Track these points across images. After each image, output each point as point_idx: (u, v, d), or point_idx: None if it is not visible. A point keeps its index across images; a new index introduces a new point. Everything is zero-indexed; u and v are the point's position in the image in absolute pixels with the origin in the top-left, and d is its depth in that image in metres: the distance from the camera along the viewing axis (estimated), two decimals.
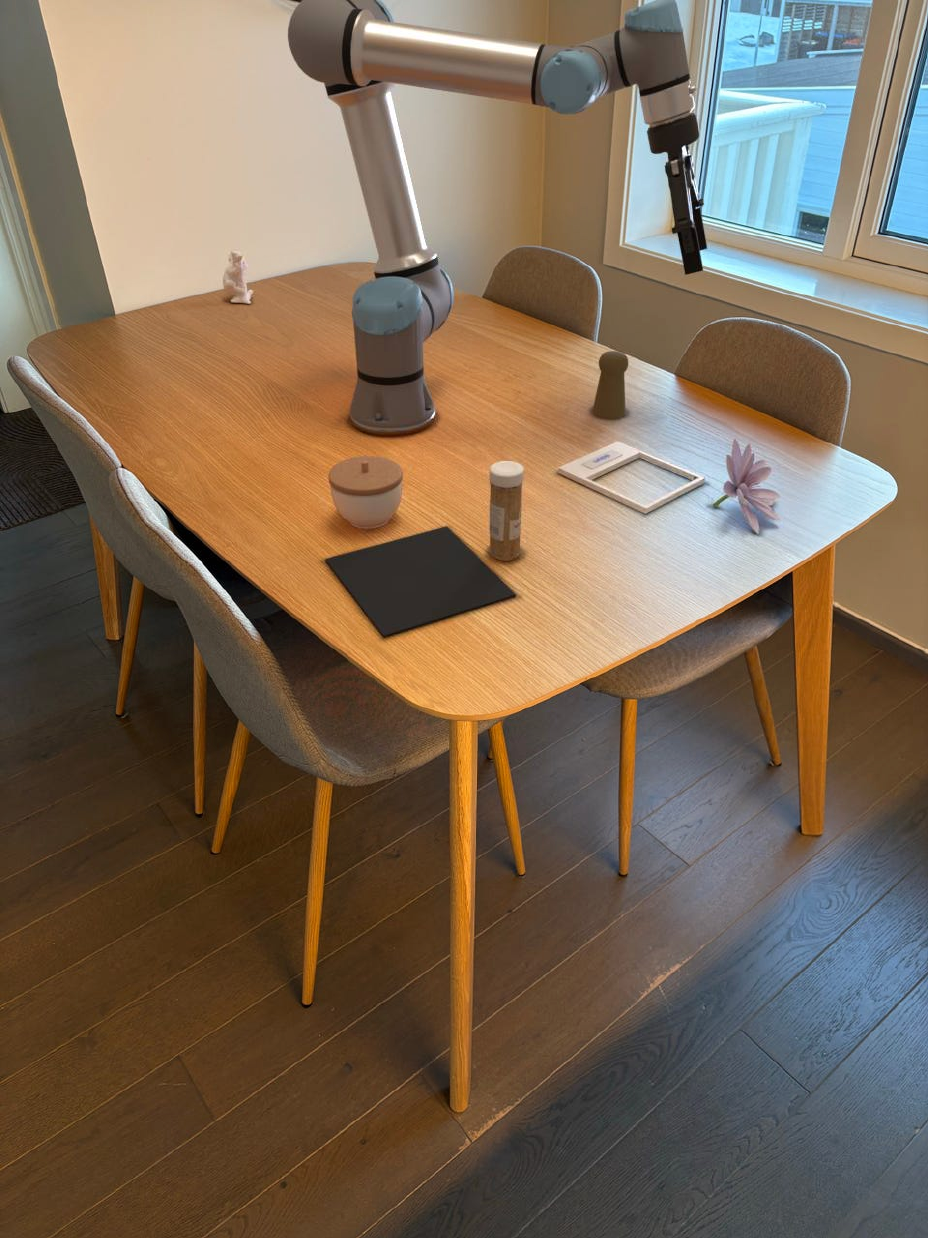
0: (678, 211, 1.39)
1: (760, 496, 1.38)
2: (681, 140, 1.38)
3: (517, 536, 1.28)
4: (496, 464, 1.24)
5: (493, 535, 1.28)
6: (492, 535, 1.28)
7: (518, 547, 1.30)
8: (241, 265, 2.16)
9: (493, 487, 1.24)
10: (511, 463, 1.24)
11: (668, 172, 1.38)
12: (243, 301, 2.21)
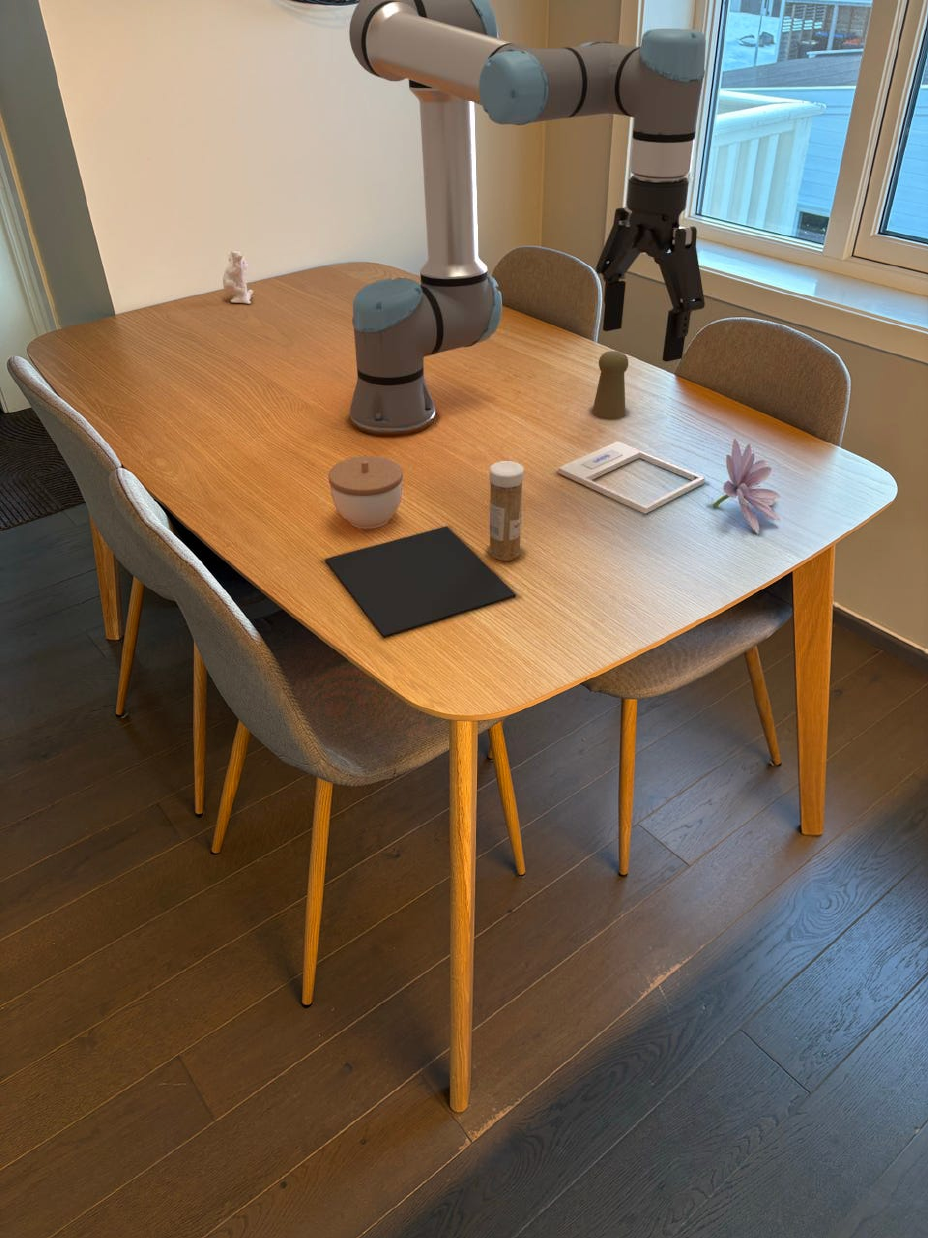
0: (692, 289, 1.16)
1: (760, 496, 1.38)
2: (682, 205, 1.16)
3: (517, 536, 1.28)
4: (496, 464, 1.24)
5: (493, 535, 1.28)
6: (492, 535, 1.28)
7: (518, 547, 1.30)
8: (241, 265, 2.16)
9: (493, 487, 1.24)
10: (511, 463, 1.24)
11: (682, 241, 1.14)
12: (243, 301, 2.21)
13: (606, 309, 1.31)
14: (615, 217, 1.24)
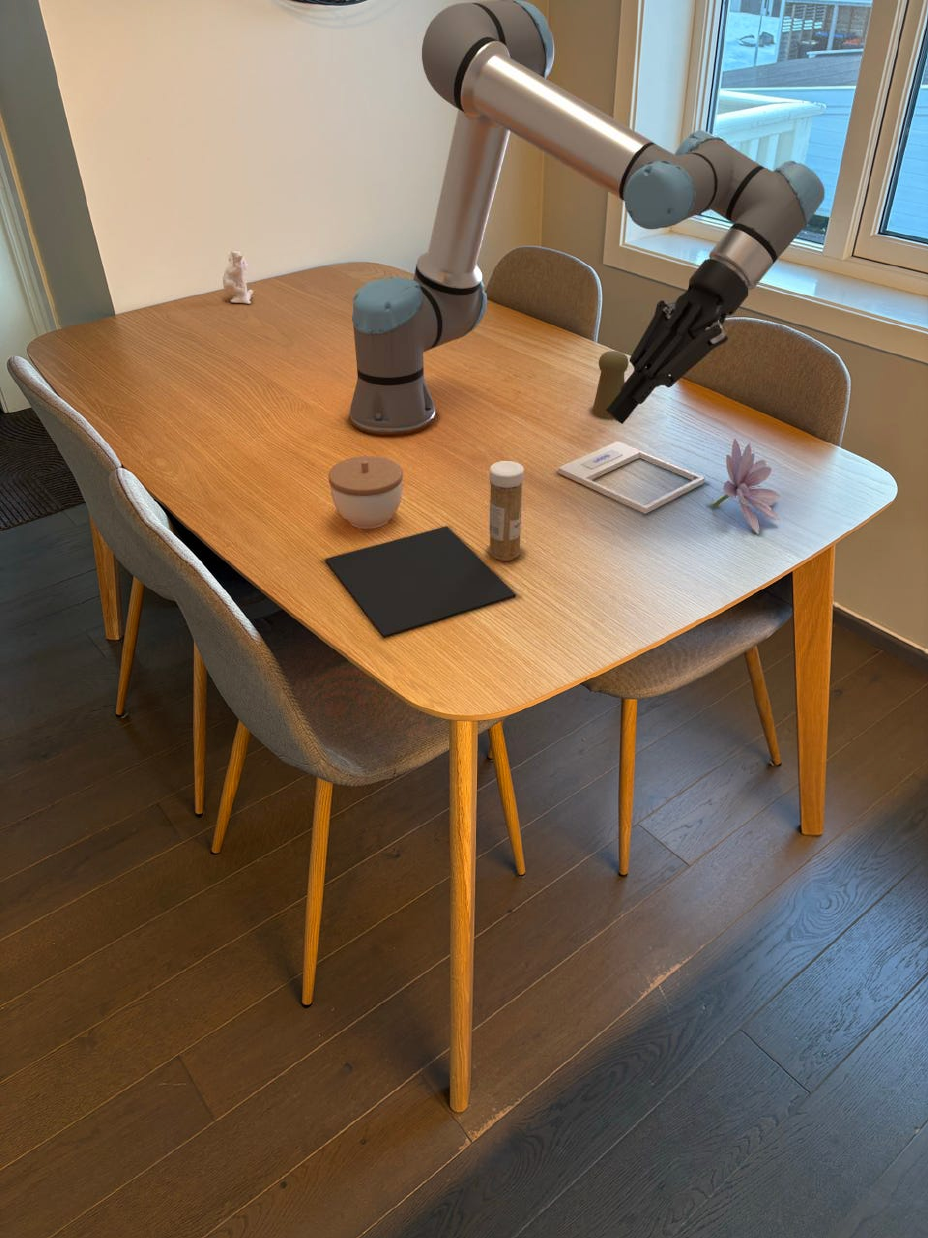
0: (677, 369, 1.23)
1: (760, 496, 1.38)
2: (735, 306, 1.23)
3: (517, 536, 1.28)
4: (496, 464, 1.24)
5: (493, 535, 1.28)
6: (492, 535, 1.28)
7: (518, 547, 1.30)
8: (241, 265, 2.16)
9: (493, 487, 1.24)
10: (511, 463, 1.24)
11: (710, 336, 1.21)
12: (243, 301, 2.21)
13: (622, 393, 1.26)
14: (657, 308, 1.28)
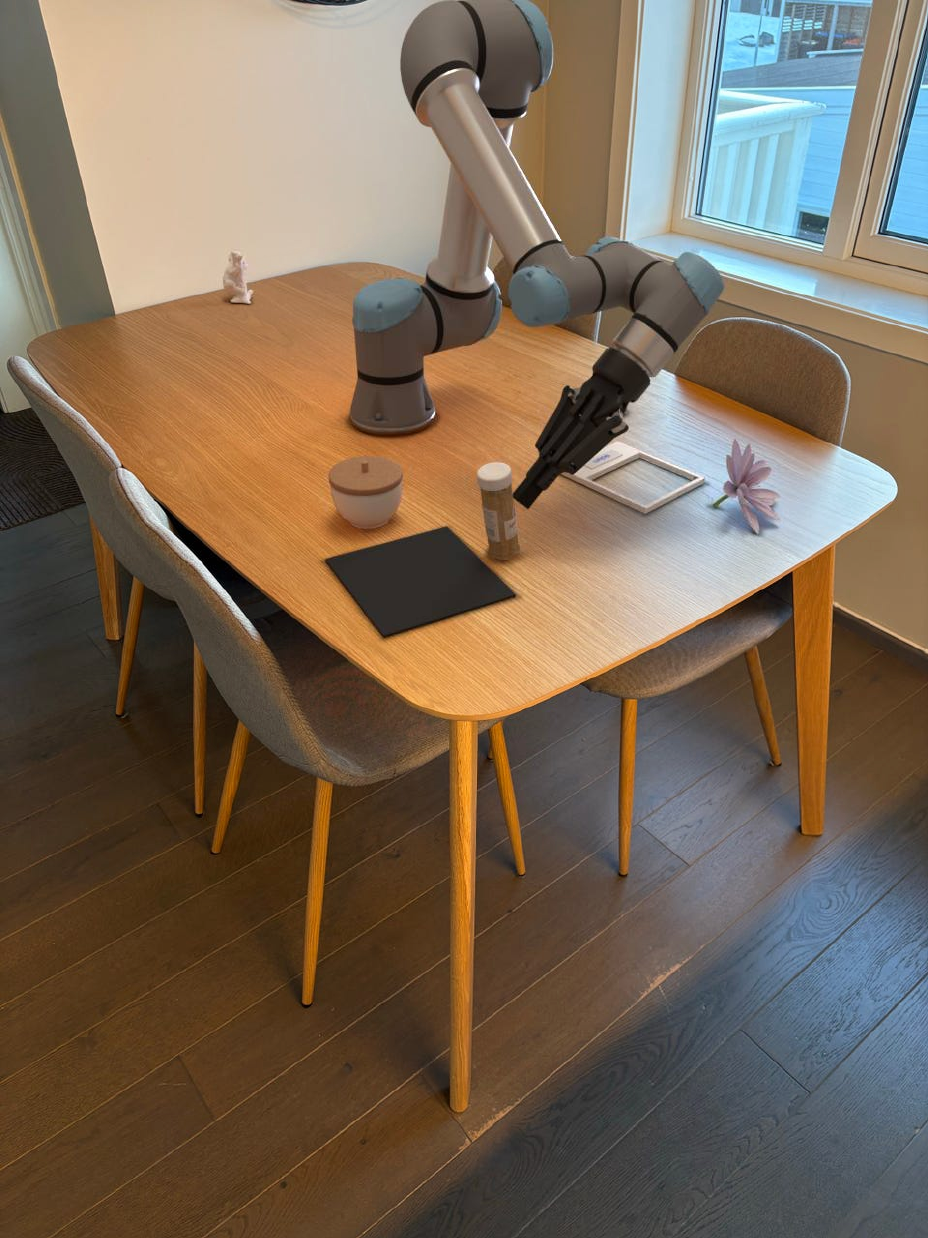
0: (579, 458, 1.23)
1: (760, 496, 1.38)
2: (637, 395, 1.23)
3: (513, 535, 1.27)
4: (483, 467, 1.23)
5: (489, 536, 1.28)
6: (489, 536, 1.28)
7: (516, 545, 1.29)
8: (241, 265, 2.16)
9: (482, 491, 1.23)
10: (498, 464, 1.23)
11: (611, 426, 1.21)
12: (243, 301, 2.21)
13: (526, 479, 1.26)
14: (563, 393, 1.28)
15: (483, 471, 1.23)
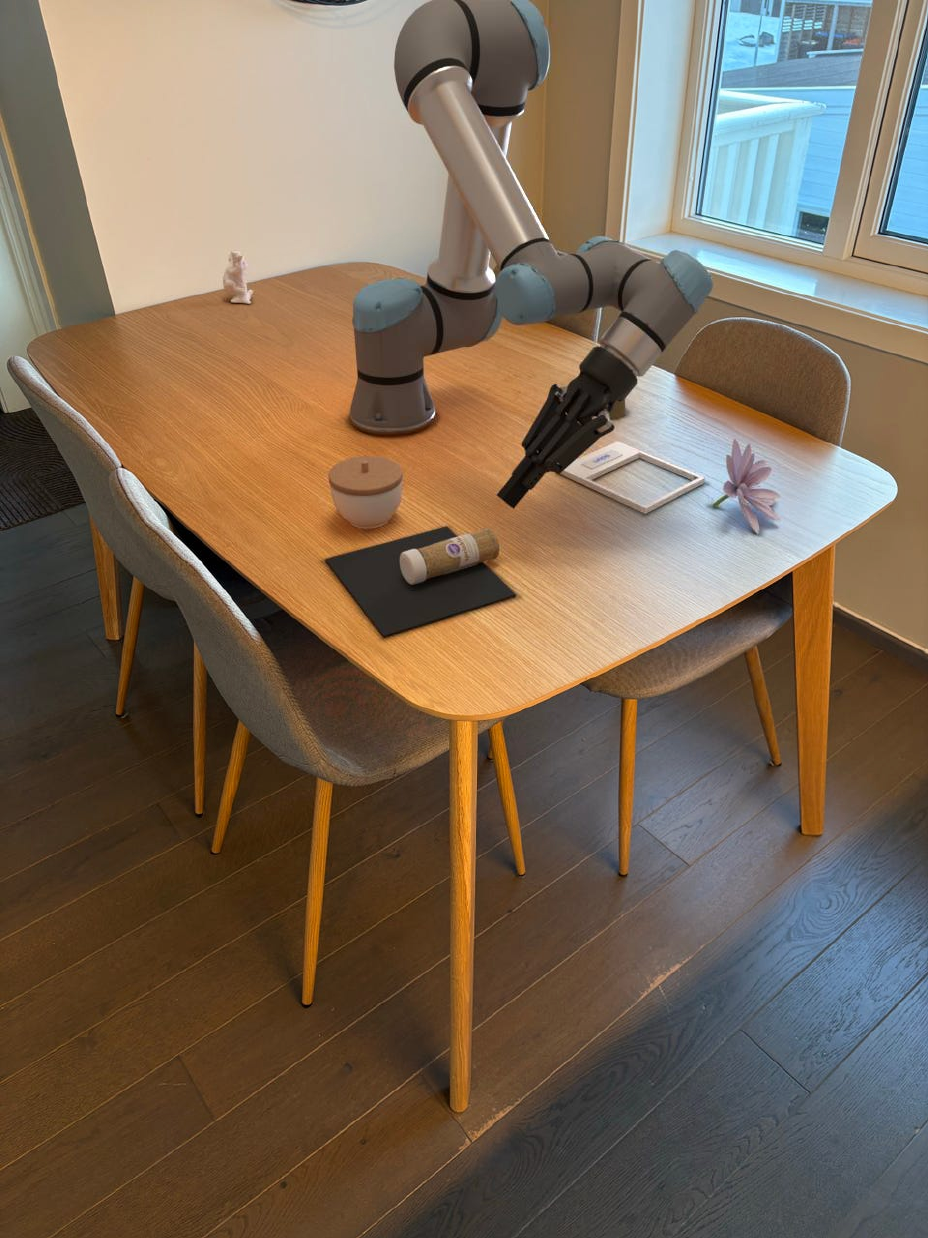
0: (564, 457, 1.22)
1: (760, 496, 1.38)
2: (624, 394, 1.22)
3: (477, 553, 1.26)
4: (401, 567, 1.25)
5: None
6: None
7: (489, 545, 1.26)
8: (241, 265, 2.16)
9: None
10: (404, 558, 1.23)
11: (596, 426, 1.20)
12: (243, 301, 2.21)
13: (512, 478, 1.25)
14: (550, 392, 1.27)
15: (404, 573, 1.24)
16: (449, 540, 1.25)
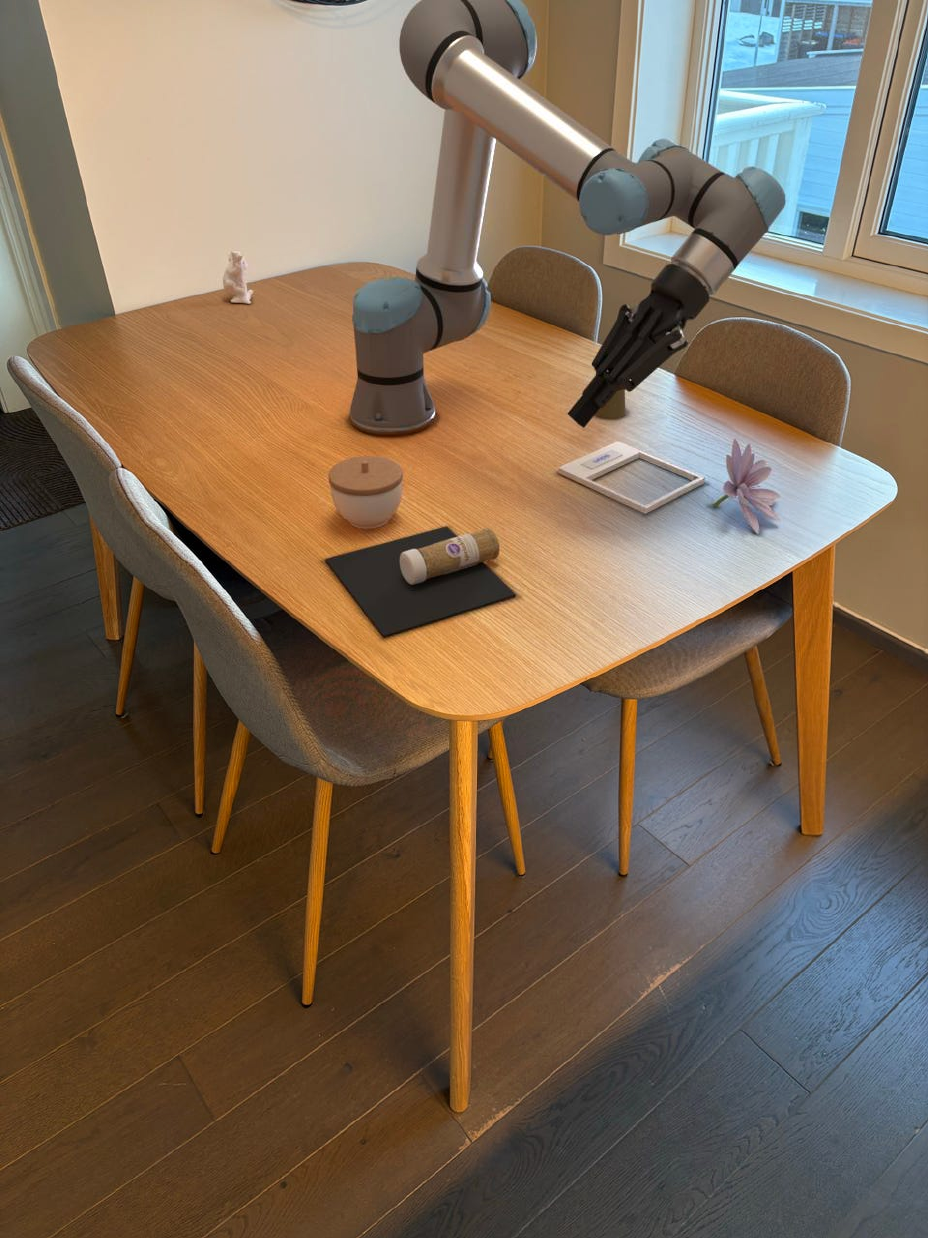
0: (637, 373, 1.23)
1: (760, 496, 1.38)
2: (696, 311, 1.23)
3: (477, 553, 1.26)
4: (401, 567, 1.25)
5: None
6: None
7: (489, 545, 1.26)
8: (241, 265, 2.16)
9: None
10: (404, 558, 1.23)
11: (670, 341, 1.21)
12: (243, 301, 2.21)
13: (583, 397, 1.27)
14: (620, 312, 1.29)
15: (404, 573, 1.24)
16: (449, 540, 1.25)
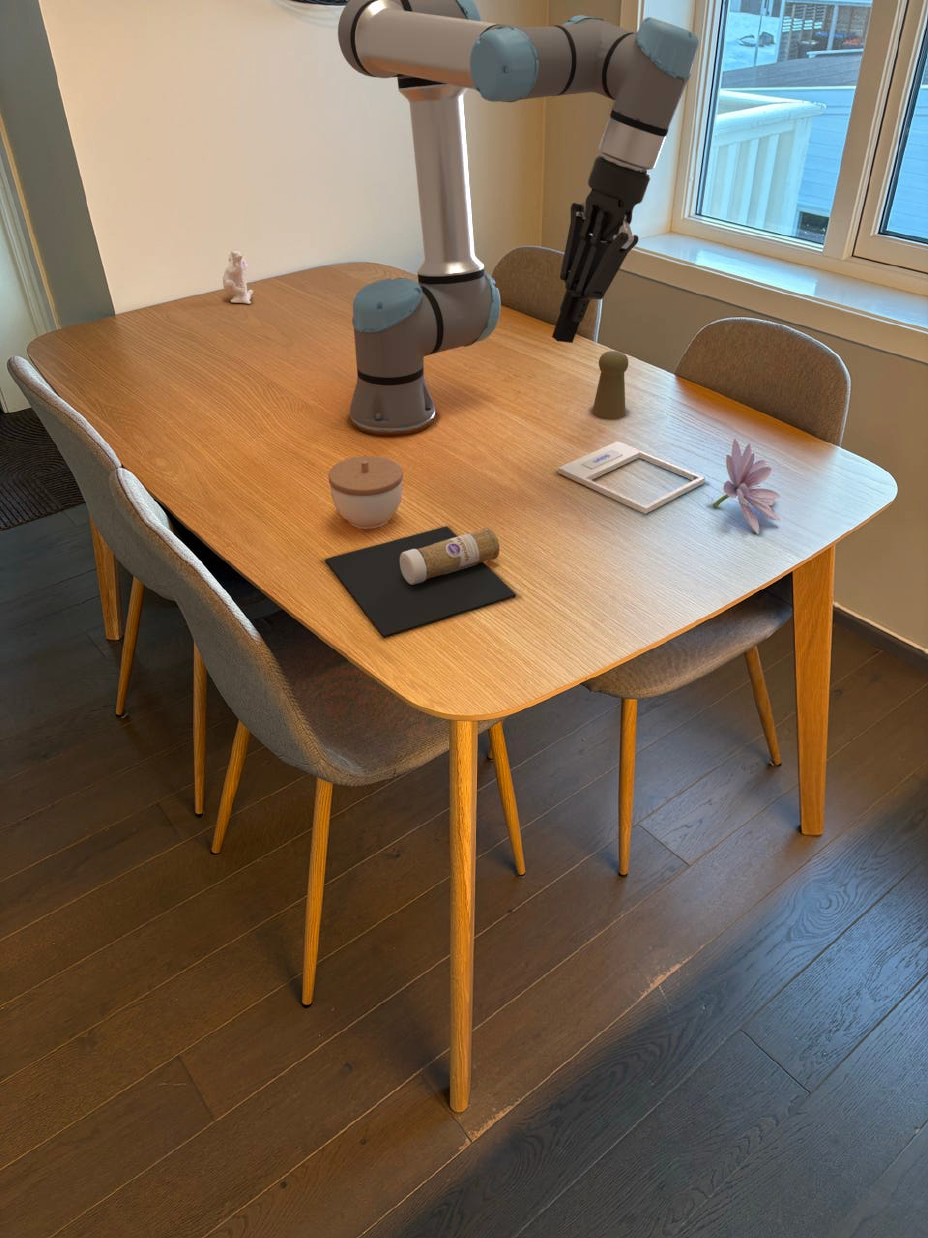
0: (600, 284, 1.23)
1: (760, 496, 1.38)
2: (639, 197, 1.18)
3: (477, 553, 1.26)
4: (401, 567, 1.25)
5: None
6: None
7: (489, 545, 1.26)
8: (241, 265, 2.16)
9: None
10: (404, 558, 1.23)
11: (619, 245, 1.19)
12: (243, 301, 2.21)
13: (560, 317, 1.29)
14: (571, 213, 1.26)
15: (404, 573, 1.24)
16: (449, 540, 1.25)
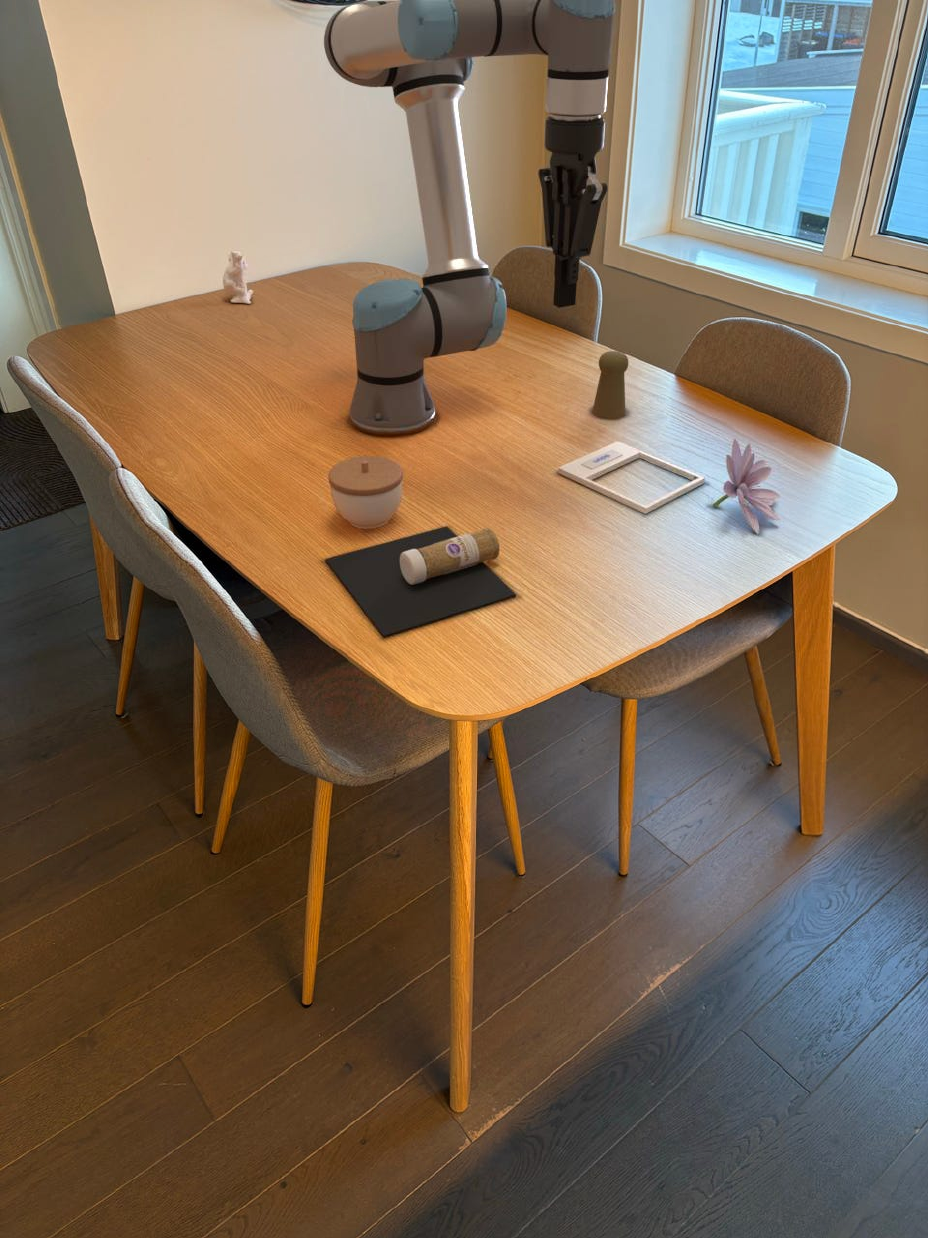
0: (583, 241, 1.22)
1: (760, 496, 1.38)
2: (598, 145, 1.17)
3: (477, 553, 1.26)
4: (401, 567, 1.25)
5: None
6: None
7: (489, 545, 1.26)
8: (241, 265, 2.16)
9: None
10: (404, 558, 1.23)
11: (589, 198, 1.18)
12: (243, 301, 2.21)
13: (556, 283, 1.29)
14: (540, 179, 1.26)
15: (404, 573, 1.24)
16: (449, 540, 1.25)
